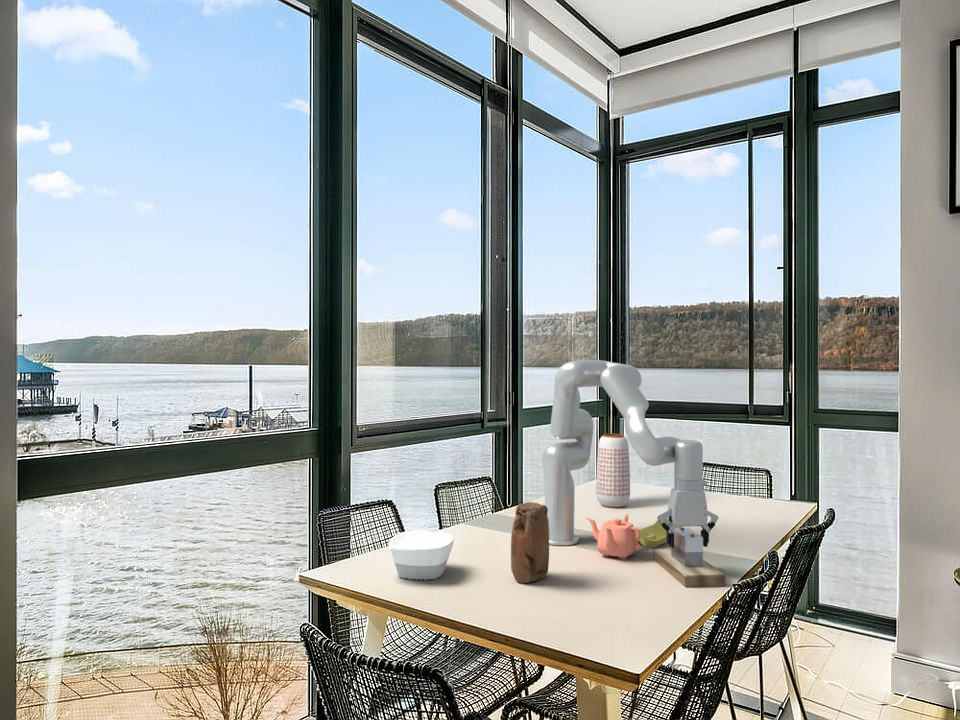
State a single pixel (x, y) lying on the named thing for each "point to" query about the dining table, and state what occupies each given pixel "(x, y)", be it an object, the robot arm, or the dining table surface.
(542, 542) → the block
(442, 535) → the bowl
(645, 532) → the plastic component
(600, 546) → the teapot
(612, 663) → the dining table surface
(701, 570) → the walnut stand
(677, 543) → the housing
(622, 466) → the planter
